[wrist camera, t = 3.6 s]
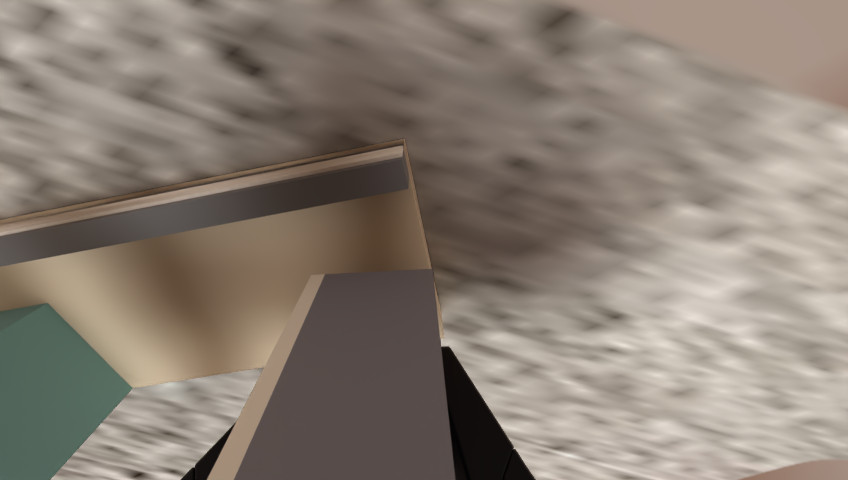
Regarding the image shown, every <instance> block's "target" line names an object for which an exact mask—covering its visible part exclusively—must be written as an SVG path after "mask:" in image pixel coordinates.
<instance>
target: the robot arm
mask: <svg viewBox="0 0 848 480" xmlns="http://www.w3.org/2000/svg"><path fill="white" fill-rule="evenodd" d="M441 351H442V360H443V370H444V379H445V388H446V397H447V407H448V416H449V425H450V435H451V444H452V453H453V462H454V472H455V480H536V479H535V478H534V477H533V475H532V474H531V472H530V471H529V469H528V468H527V466H526V465H525V463H524V462H523V460H522V459H521V457H520V455H519V454H518V452H517V451H516V450H515V449H513V448H514V447H513V445H512V443H511V442H510V440H509V439H508V437H507V435H506V434H505V432H504V431H503V429H502V428H501V426H500V425H499V423H498V421H497V420H496V418H495V417H494V415H493V414H492V412H491V410H490V409H489V407H488V406H487V404H486V403H485V401H484V400H483V398H482V396H481V395H480V393H479V392H478V390H477V389H476V387H475V386H474V384H473V382H472V381H471V379H470V378H469V376H468V375H467V373H466V371H465V370H464V368H463V367H462V365H461V364H460V362H459V361H458V359H457V357H456V356H455V354H454V353H453V351H452V350H451V348H450V347H448V346H445V347H441ZM235 424H236V423H235ZM235 424H234V425H233V426H232V427H231V428H230V429H229V430H228V431H227V432H226V433H225V434H224V435H223V436H222V437H221V438H220V439H219V441H218V442H217V443H216V444H215V445H214V446H213V447H212V448H211V449H210V450H209V451H208V452H207V453H206V454H205V455H204V456H203V457H202V458H201V459H200V460H199V461H198V462H197V463H196V465H195V467H193V468H191V470H190V471H189V472H188V473H187V474H186V475H185V476H184V477H183V478H182V479H181V480H207V478H208V476H209V475H210V473H211V471H212V469H213V467H214V465H215V463H216V461H217V459H218V457H219V455H220V453H221V451H222V449H223V447H224V445H225V443H226V441H227V439H228V437H229V435H230V433H231V431H232V429H233V428H234V426H235Z"/></svg>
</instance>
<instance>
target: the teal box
mask: <svg viewBox="0 0 848 480" xmlns="http://www.w3.org/2000/svg"><path fill="white" fill-rule="evenodd" d="M131 389H132V387H131V386H130V385H129V384H128V383H127V382H126V381H125V380H124V379H123V378H122V377H121V376H120V375H119V374H118V373H117V372H116V371H115V370H114V369H113V368H112V367H111V366H110V365H109V364H108V363H107V362H106V361H105V360H104V359H103V358H102V357H101V356H100V355H99V354H98V353H97V352H96V351H95V350H94V349H93V348H92V347H91V346H90V345H89V344H88V343H87V342H86V341H85V340H84V339H83V338H82V337H81V336H80V335H79V334H78V333H77V332H76V331H75V330H74V329H73V328H72V327H71V326H70V325H69V324H68V323H67V322H66V321H65V320H64V319H63V318H62V317H61V316H60V315H59V314H58V313H57V312H56V311H55V310H54V309H53V308H52V307H51V306H50V305H49V304H48V303H44V304H39V305H33V306H28V307H22V308H16V309H11V310H5V311H0V480H50V479H51V478H52V477H53V476H54V475H55V474H56V473H57V472H58V470H59V469H60V468H61V467H62V466H63V465H64V464H65V463H66V462H67V460H68V459H69V458H70V457H71V456H72V455H73V454H74V453H75V452H76V450H77V449H78V448H79V447H80V446H81V445H82V444H83V443H84V442H85V440H86V439H87V438H88V437H89V436H90V435H91V434H92V433H93V432H94V430H95V429H96V428H97V427H98V426H99V425H100V424H101V423H102V422H103V420H104V419H105V418H106V417H107V416H108V415H109V414H110V413H111V412H112V411H113V409H114V408H115V407H116V406H117V405H118V404H119V403H120V402H121V401H122V399H123V398H124V397H125V396H126V395H127V394H128V393H129V392H130V391H131Z"/></svg>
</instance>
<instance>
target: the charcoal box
mask: <svg viewBox="0 0 848 480" xmlns="http://www.w3.org/2000/svg"><path fill="white" fill-rule="evenodd" d="M207 480H455V472H454V462H453V453H452V444H451V435H450V425H449V416H448V407H447V397H446V388H445V379H444V370H443V360H442V351H441V342H440V332H439V323H438V314H437V305H436V295H435V286H434V277H433V269H417V270H398V271H378V272H359V273H339V274H320V275H311V277H310V279H309V281H308V283H307V285H306V287H305V289H304V290H303V292H302V294H301V296H300V298H299V300H298V302H297V304H296V306H295V308H294V310H293V312H292V314H291V316H290V318H289V320H288V322H287V324H286V326H285V328H284V330H283V332H282V334H281V336H280V337H279V339H278V341H277V343H276V345H275V347H274V349H273V351H272V353H271V355H270V357H269V359H268V361H267V363H266V365H265V367H264V369H263V371H262V373H261V375H260V377H259V379H258V381H257V382H256V384H255V386H254V388H253V390H252V392H251V394H250V396H249V398H248V400H247V402H246V404H245V406H244V408H243V410H242V412H241V414H240V416H239V418H238V420H237V422H236V424H235V426H234V428H233V429H232V431H231V433H230V435H229V437H228V439H227V441H226V443H225V445H224V447H223V449H222V451H221V453H220V455H219V457H218V459H217V461H216V463H215V465H214V467H213V469H212V471H211V473H210V475H209V476H208V478H207Z"/></svg>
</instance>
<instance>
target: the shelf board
mask: <svg viewBox="0 0 848 480" xmlns="http://www.w3.org/2000/svg"><path fill="white" fill-rule="evenodd" d="M417 269H432V267H431V262H430V257H429V253H428V248H427V243H426V238H425V234H424V229H423V224H422V219H421V214H420V210H419V205H418V200H417V195H416V190H415V186H414V181H413V176H412V171H411V167H410V162H409V157H408V152H407V147H406V143H405V139H400V140H395V141H390V142H385V143H380V144H375V145H370V146H365V147H360V148H355V149H350V150H345V151H340V152H335V153H330V154H325V155H321V156H316V157H311V158H306V159H301V160H296V161H291V162H286V163H281V164H276V165H271V166H266V167H261V168H256V169H251V170H246V171H241V172H236V173H231V174H226V175H221V176H216V177H211V178H206V179H201V180H196V181H191V182H186V183H181V184H176V185H171V186H166V187H161V188H156V189H151V190H146V191H141V192H136V193H131V194H126V195H121V196H116V197H111V198H106V199H101V200H96V201H91V202H86V203H81V204H76V205H71V206H66V207H61V208H56V209H51V210H46V211H41V212H36V213H31V214H26V215H21V216H16V217H11V218H6V219H1V220H0V311H5V310H11V309H16V308H22V307H28V306H33V305H39V304H44V303H48V304H49V305H50V306H51V307H52V308H53V309H54V310H55V311H56V312H57V313H58V314H59V315H60V316H61V317H62V318H63V319H64V320H65V321H66V322H67V323H68V324H69V325H70V326H71V327H72V328H73V329H74V330H75V331H76V332H77V333H78V334H79V335H80V336H81V337H82V338H83V339H84V340H85V341H86V342H87V343H88V344H89V345H90V346H91V347H92V348H93V349H94V350H95V351H96V352H97V353H98V354H99V355H100V356H101V357H102V358H103V359H104V360H105V361H106V362H107V363H108V364H109V365H110V366H111V367H112V368H113V369H114V370H115V371H116V372H117V373H118V374H119V375H120V376H121V377H122V378H123V379H124V380H125V381H126V382H127V383H128V384H129V385H130V386H131V387H132V388H137V387H143V386H149V385H155V384H162V383H168V382H174V381H180V380H187V379H193V378H199V377H205V376H212V375H218V374H224V373H230V372H237V371H243V370H249V369H255V368H261V367H265V365H266V363H267V361H268V359H269V357H270V355H271V353H272V351H273V349H274V347H275V345H276V343H277V341H278V339H279V337H280V336H281V334H282V332H283V330H284V328H285V326H286V324H287V322H288V320H289V318H290V316H291V314H292V312H293V310H294V308H295V306H296V304H297V302H298V300H299V298H300V296H301V294H302V292H303V290H304V289H305V287H306V285H307V283H308V281H309V279H310V277H311V275H320V274H339V273H359V272H378V271H398V270H417ZM434 286H435V281H434ZM435 295H436V305H437V314H438V323H439V332H440V339H442V338H444V332H443V324H442V316H441V310H440V305H439V301H438V296H437V291H436V286H435Z"/></svg>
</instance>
